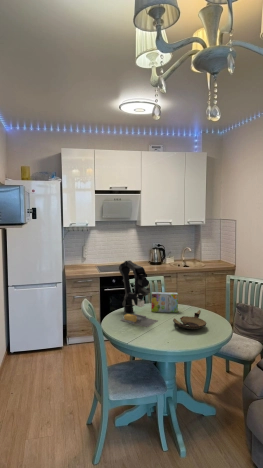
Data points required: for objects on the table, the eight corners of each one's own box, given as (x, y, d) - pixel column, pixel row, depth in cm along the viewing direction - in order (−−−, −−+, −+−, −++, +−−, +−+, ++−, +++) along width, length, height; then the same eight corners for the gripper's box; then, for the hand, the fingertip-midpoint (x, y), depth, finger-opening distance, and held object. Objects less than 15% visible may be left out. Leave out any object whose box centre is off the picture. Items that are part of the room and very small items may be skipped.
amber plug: (133, 322, 223) (133, 317, 223) (123, 320, 228) (123, 314, 228) (136, 321, 226) (136, 315, 226) (126, 318, 232) (126, 313, 231)
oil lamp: (165, 326, 220) (165, 315, 220) (195, 318, 238) (195, 308, 237) (188, 336, 202) (189, 325, 202) (219, 327, 220) (219, 316, 219)
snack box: (177, 310, 256) (177, 292, 255) (177, 312, 251) (178, 294, 250) (151, 309, 258) (151, 291, 257) (151, 311, 253) (151, 293, 252)
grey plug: (140, 307, 228) (140, 301, 228) (131, 304, 234) (131, 299, 234) (144, 305, 231) (144, 300, 231) (134, 303, 237) (134, 298, 237)
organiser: (120, 322, 228) (120, 318, 228) (132, 316, 241) (132, 313, 241) (147, 329, 215) (147, 325, 214) (158, 322, 228) (158, 319, 227)
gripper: (139, 288, 219) (138, 310, 220) (155, 283, 233) (154, 304, 234) (127, 285, 226) (126, 306, 227) (143, 281, 240) (142, 301, 241)
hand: (138, 304), depth 232 cm, fingers closed on grey plug, 4 cm apart
